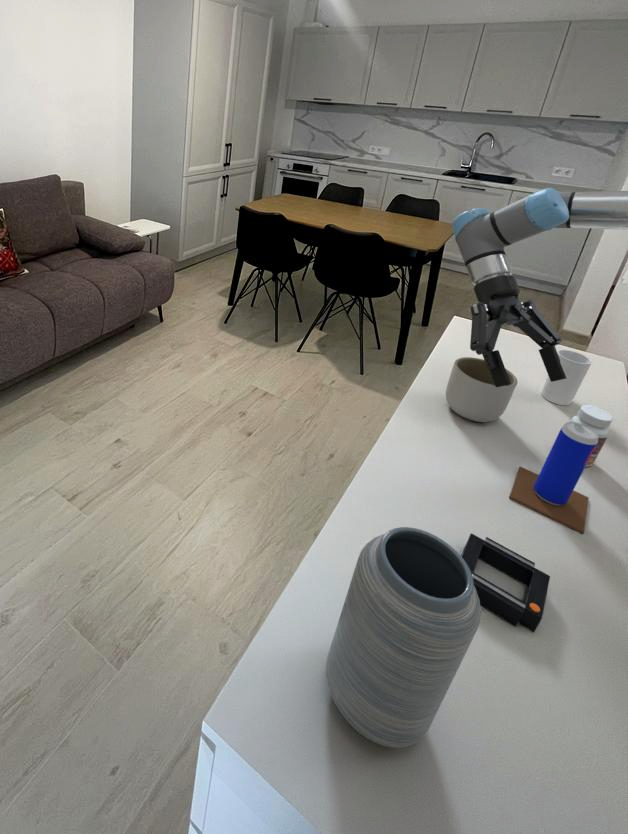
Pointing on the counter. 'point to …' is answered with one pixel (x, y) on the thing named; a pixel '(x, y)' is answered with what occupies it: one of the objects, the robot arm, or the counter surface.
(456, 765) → the counter surface
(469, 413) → the planter
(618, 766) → the counter surface
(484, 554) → the frame
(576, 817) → the counter surface
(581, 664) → the counter surface
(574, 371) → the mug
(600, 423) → the pill bottle
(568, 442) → the beverage can
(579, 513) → the cork mat
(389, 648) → the vase
